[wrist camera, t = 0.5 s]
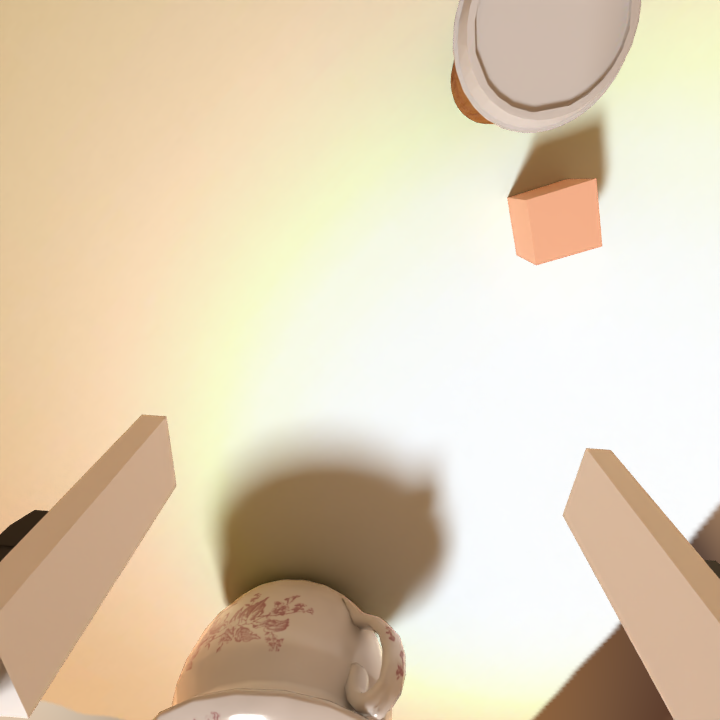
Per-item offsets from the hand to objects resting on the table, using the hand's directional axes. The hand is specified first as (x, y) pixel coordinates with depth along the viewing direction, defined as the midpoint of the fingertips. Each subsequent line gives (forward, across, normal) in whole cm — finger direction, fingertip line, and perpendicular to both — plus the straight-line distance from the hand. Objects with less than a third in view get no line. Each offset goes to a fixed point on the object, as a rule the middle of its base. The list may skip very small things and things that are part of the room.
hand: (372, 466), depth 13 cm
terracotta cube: (+28, +14, +6) cm, 32 cm away
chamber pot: (+27, -6, -48) cm, 55 cm away
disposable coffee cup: (+28, +8, +16) cm, 33 cm away
